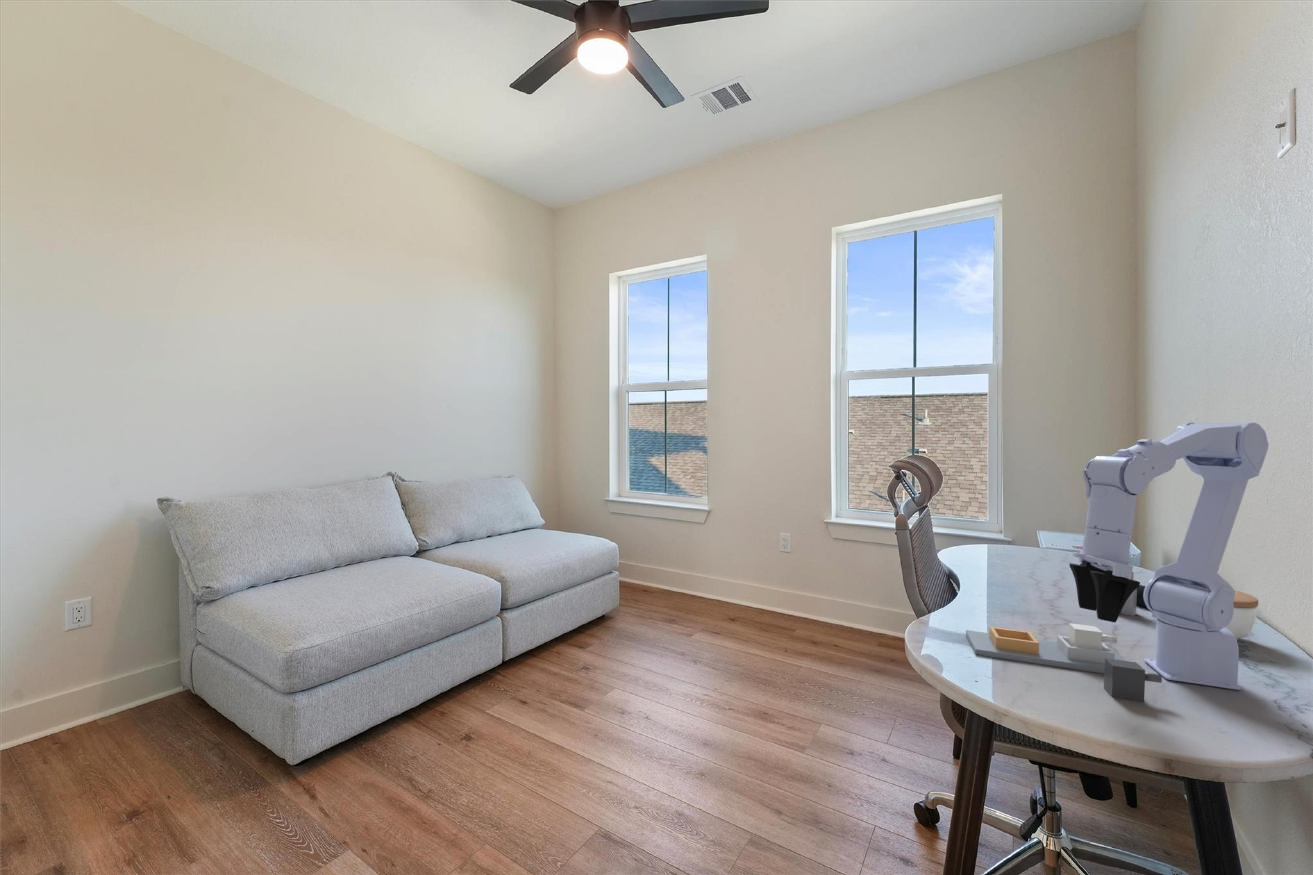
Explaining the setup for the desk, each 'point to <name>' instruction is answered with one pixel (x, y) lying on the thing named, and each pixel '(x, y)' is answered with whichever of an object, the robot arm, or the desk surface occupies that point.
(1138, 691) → the dark gray plug
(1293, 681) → the desk surface
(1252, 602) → the white lidded bowl
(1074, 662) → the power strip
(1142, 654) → the desk surface
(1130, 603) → the power adapter
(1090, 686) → the desk surface
